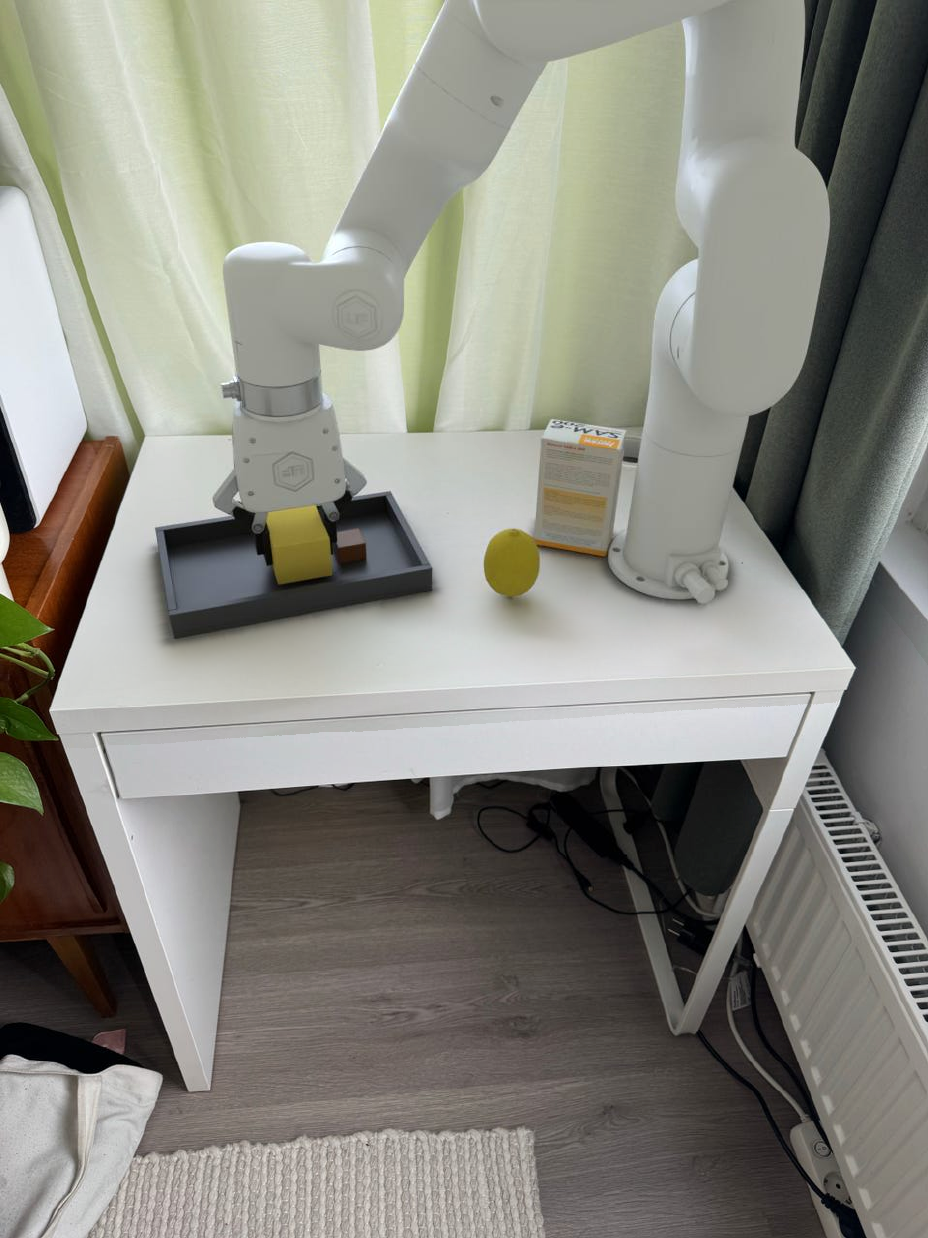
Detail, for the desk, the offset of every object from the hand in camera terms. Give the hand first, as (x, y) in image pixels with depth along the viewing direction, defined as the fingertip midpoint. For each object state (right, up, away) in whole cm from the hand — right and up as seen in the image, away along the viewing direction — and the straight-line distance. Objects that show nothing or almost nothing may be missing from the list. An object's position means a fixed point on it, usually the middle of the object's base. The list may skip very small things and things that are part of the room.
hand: (297, 551), depth 96 cm
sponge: (0, -1, +1) cm, 1 cm away
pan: (-1, -2, +1) cm, 2 cm away
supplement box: (+29, +2, +7) cm, 30 cm away
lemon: (+22, -5, -1) cm, 22 cm away
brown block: (+5, 0, +3) cm, 6 cm away
